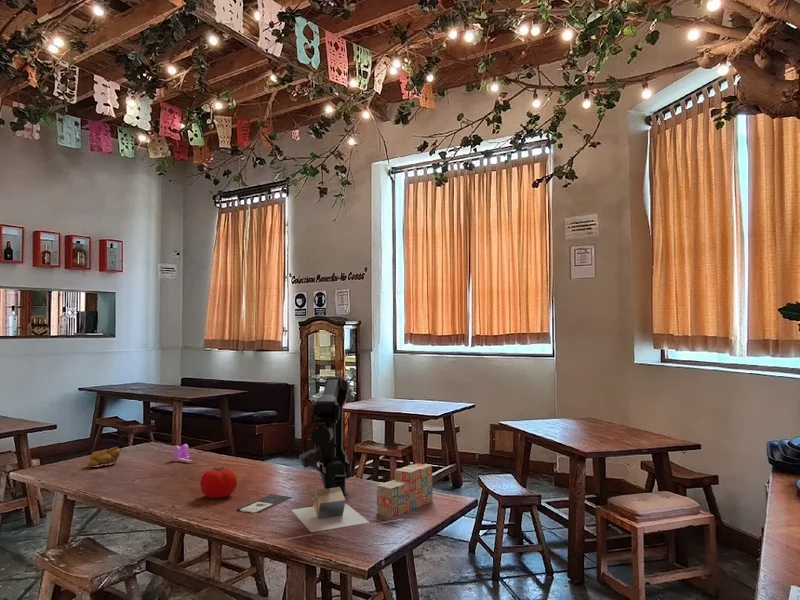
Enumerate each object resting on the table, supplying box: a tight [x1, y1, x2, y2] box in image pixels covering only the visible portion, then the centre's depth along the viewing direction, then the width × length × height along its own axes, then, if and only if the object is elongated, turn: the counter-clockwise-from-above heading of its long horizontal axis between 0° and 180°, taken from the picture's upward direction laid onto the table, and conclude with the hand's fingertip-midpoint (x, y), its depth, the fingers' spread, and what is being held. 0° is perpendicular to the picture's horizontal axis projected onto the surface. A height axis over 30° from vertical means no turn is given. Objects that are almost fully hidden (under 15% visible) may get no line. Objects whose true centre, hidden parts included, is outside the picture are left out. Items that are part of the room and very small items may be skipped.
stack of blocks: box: [376, 463, 434, 518], centre depth 187 cm, size 21×6×12 cm, turn 141°
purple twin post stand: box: [172, 443, 192, 461], centre depth 260 cm, size 13×6×7 cm, turn 56°
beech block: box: [312, 487, 346, 519], centre depth 178 cm, size 6×8×6 cm
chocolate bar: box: [236, 493, 293, 514], centre depth 193 cm, size 9×1×18 cm
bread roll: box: [87, 446, 121, 467], centre depth 254 cm, size 13×10×8 cm
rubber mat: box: [291, 502, 370, 533], centre depth 179 cm, size 23×18×1 cm
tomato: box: [199, 466, 238, 499], centre depth 203 cm, size 11×13×10 cm
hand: (326, 490), depth 180 cm, fingers closed
